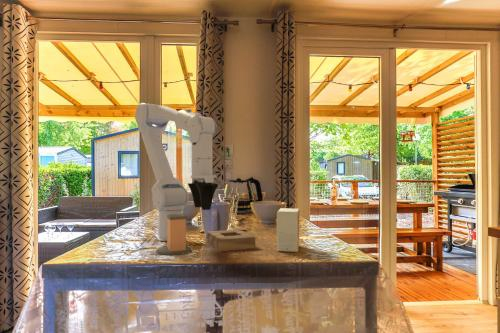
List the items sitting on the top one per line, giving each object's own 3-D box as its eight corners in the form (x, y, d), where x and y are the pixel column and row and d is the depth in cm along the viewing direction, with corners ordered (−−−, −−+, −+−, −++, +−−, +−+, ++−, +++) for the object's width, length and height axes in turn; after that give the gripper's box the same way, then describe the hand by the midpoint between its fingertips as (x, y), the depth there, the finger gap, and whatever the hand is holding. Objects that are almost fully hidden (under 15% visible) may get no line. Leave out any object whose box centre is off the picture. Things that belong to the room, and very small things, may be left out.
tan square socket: (207, 241, 98) (207, 231, 98) (238, 239, 102) (239, 229, 102) (220, 251, 87) (220, 239, 87) (255, 247, 91) (255, 236, 91)
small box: (297, 252, 86) (298, 211, 86) (276, 251, 87) (276, 211, 87) (299, 245, 94) (299, 208, 94) (279, 244, 95) (280, 207, 95)
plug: (166, 248, 88) (167, 214, 88) (182, 246, 90) (182, 213, 90) (169, 251, 85) (170, 216, 85) (186, 250, 86) (186, 215, 86)
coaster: (153, 248, 89) (153, 247, 89) (187, 245, 93) (187, 244, 93) (159, 256, 81) (159, 254, 81) (195, 253, 85) (195, 251, 85)
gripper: (224, 158, 88) (224, 210, 88) (208, 160, 101) (208, 205, 101) (198, 158, 85) (198, 211, 85) (185, 160, 99) (185, 206, 98)
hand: (202, 208), depth 93 cm, fingers open, 7 cm apart
